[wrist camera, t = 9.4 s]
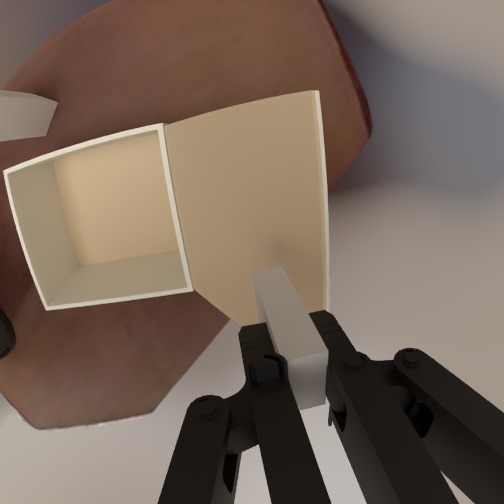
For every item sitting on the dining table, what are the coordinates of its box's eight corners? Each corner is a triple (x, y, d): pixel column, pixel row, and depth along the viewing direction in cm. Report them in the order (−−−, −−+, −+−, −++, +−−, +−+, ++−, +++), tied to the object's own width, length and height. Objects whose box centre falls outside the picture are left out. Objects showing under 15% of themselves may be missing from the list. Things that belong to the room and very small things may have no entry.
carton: (78, 269, 48) (46, 310, 36) (50, 158, 41) (3, 170, 28) (196, 249, 50) (193, 291, 37) (176, 125, 42) (162, 122, 30)
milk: (59, 102, 38) (-26, 93, 17) (46, 136, 39) (-41, 149, 19) (33, 93, 36) (-53, 85, 16) (21, 127, 38) (-67, 137, 17)
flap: (320, 385, 21) (326, 381, 21) (310, 90, 13) (318, 90, 14) (193, 289, 37) (198, 287, 37) (163, 126, 30) (169, 125, 30)
